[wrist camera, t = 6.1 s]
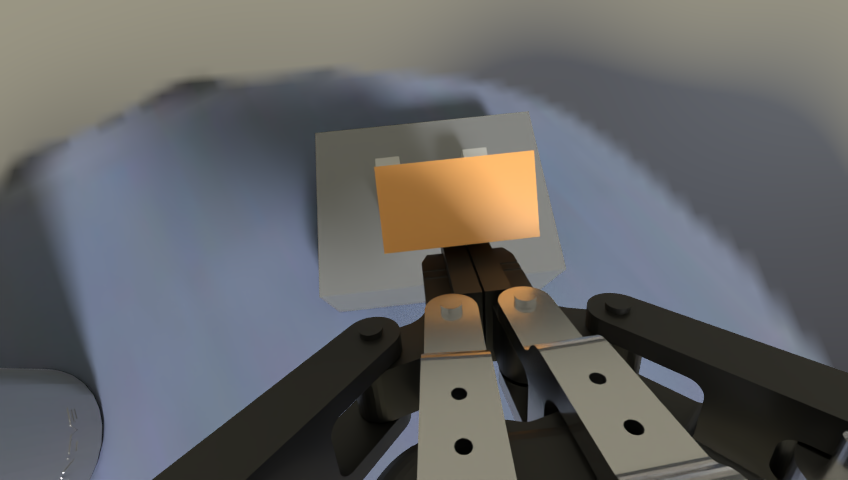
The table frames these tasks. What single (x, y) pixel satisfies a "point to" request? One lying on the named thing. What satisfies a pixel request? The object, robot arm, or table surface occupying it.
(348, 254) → the block
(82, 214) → the table surface
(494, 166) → the lever
